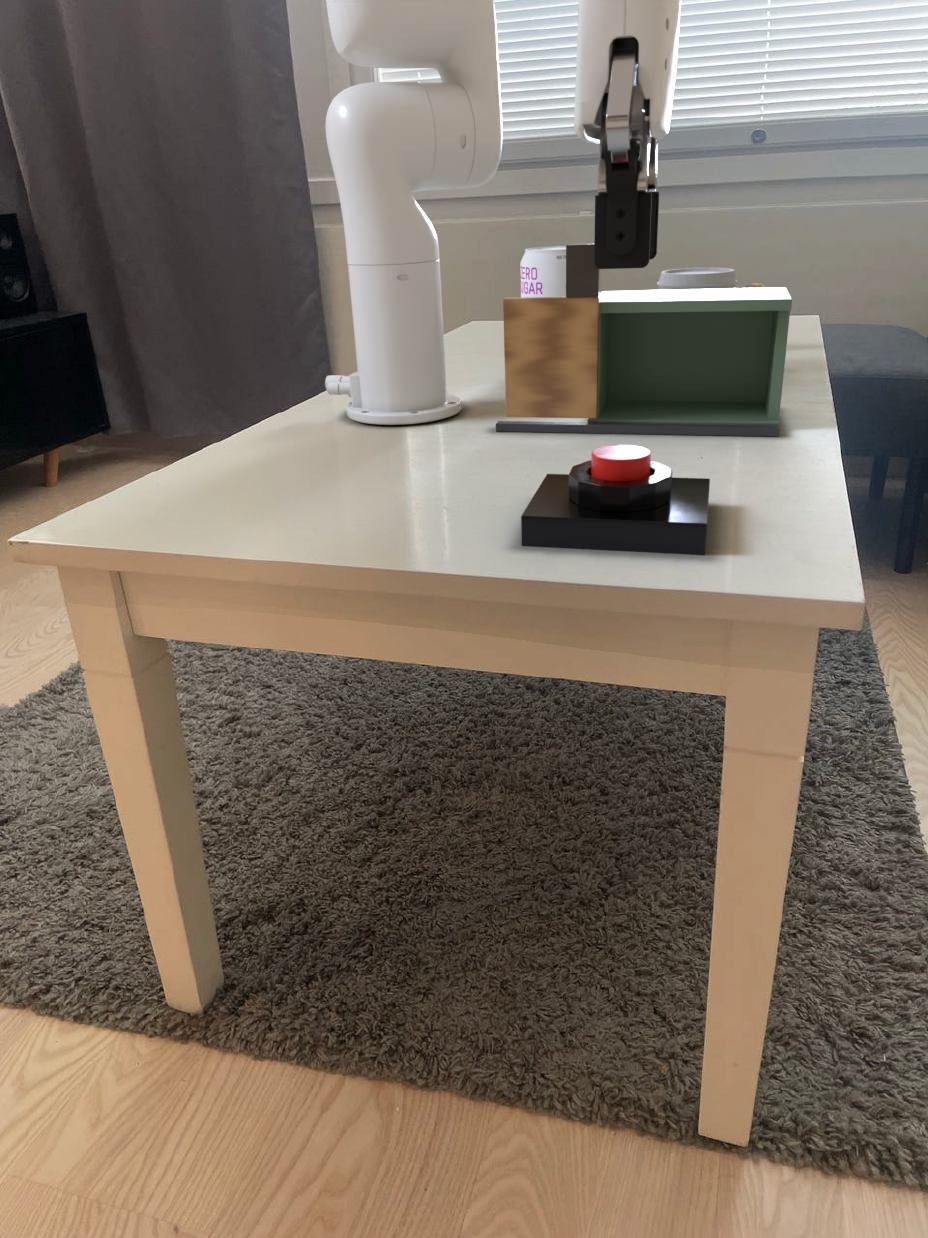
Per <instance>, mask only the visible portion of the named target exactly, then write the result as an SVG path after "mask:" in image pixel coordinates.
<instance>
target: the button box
mask: <svg viewBox="0 0 928 1238" xmlns="http://www.w3.org/2000/svg"><path fill="white" fill-rule="evenodd" d="M710 485H711V478H701V477H673V469H672V468H671V467H669V466H668V465H666V464H664V463H662V462H660V461H654V460H651V463H650V477H647V478H645V479H639V480H631V481H607V480H603V479H598V478H593V477H591V459H590V460H586V461H584V462H583V461H582V462H581V463H578V464H575V465H573V466H572V467H571V469H570V471H569V473H568V474H567V473H566V474H565V473H546V475H545V477H544V478H543V480H542V481H541V483H540V485H539V487H538V488H537V490H536V491H535V493H534V495H532V498H531V499H530V501H529V502H528V504H527V506H526V507H525V509H524V510H523V513H522V514H521V516H520V523H521V524H520V527H521V529H520V530H521V534H520V535H521V547H529V548H534V547H535V548H548V549H549V548H550V549H551V548H552V549H567V550H568V549H570V550H590V551H591V550H592V551H608V552H609V551H612V552H613V551H614V552H627V553H628V552H632V553H648V554H649V553H651V554H670V555H689V556H706V545H707V535H708V533H707V532H708V517H709V504H710V503H709V502H710V501H709V500H710Z"/></svg>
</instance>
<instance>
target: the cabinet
mask: <svg viewBox="0 0 928 1238" xmlns="http://www.w3.org/2000/svg"><path fill="white" fill-rule="evenodd" d="M599 297H600V300H599V355H598V410H597V418H587V421H585V422H584V421H526V420H525V421H524V420H523V421H522V420H518V421H517V420H498V421H497V422H496V423H495V432H512V433H513V432H516V433H563V434H564V433H567V434H568V433H569V434H614V435H615V434H619V435H620V434H623V435H671V436H673V435H675V436H677V435H678V436H726V437H727V436H728V437H729V436H731V437H777V438H778V437H780V430H781V427H780V415H781V404H782V403H781V402H782V395H783V383H784V374H785V366H786V365H785V364H786V355H787V345H788V336H789V326H790V316H791V311H792V307H793V306H792V304H793V298H792V296H791V294H790V293H789V291H788V289H787V287H785V286H784V287H780V286H779V287H778V286H777V287H765V288H744V287H741V288H740V287H735V288H728V289H678V290H659V289H641V290H640V289H636V290H601V291H600V296H599Z"/></svg>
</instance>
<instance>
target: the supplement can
mask: <svg viewBox="0 0 928 1238" xmlns="http://www.w3.org/2000/svg"><path fill="white" fill-rule="evenodd" d="M519 263H520V264H519V265H520V267H519V268H520V271H519V272H520V297H566V245H556V246H539V247H529V248H525V249H524V254H523V256H522V258H521V260H520V262H519Z"/></svg>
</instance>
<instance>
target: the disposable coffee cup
mask: <svg viewBox="0 0 928 1238" xmlns="http://www.w3.org/2000/svg"><path fill="white" fill-rule="evenodd" d="M738 281H739V280H737V279H736V271H735V269H734V268H729V267H685V268H673V269H666V270H663V271H661V272H660V276H659V280H658V281H657V282H656V285H657V287H658V290H678V289H728V288H736V285H737V284H738Z"/></svg>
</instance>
